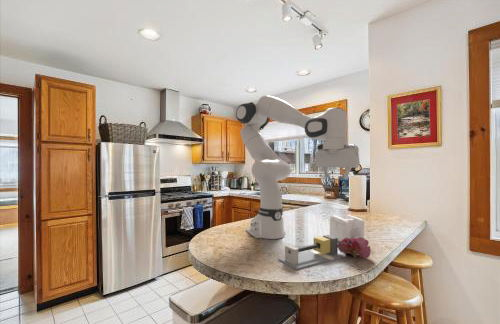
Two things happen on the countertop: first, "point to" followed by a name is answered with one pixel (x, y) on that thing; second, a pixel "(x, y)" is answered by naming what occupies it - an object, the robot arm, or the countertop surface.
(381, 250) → the countertop surface
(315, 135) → the robot arm
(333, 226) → the cable organizer
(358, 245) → the flower
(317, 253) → the grey slider rail toy
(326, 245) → the sleeve
